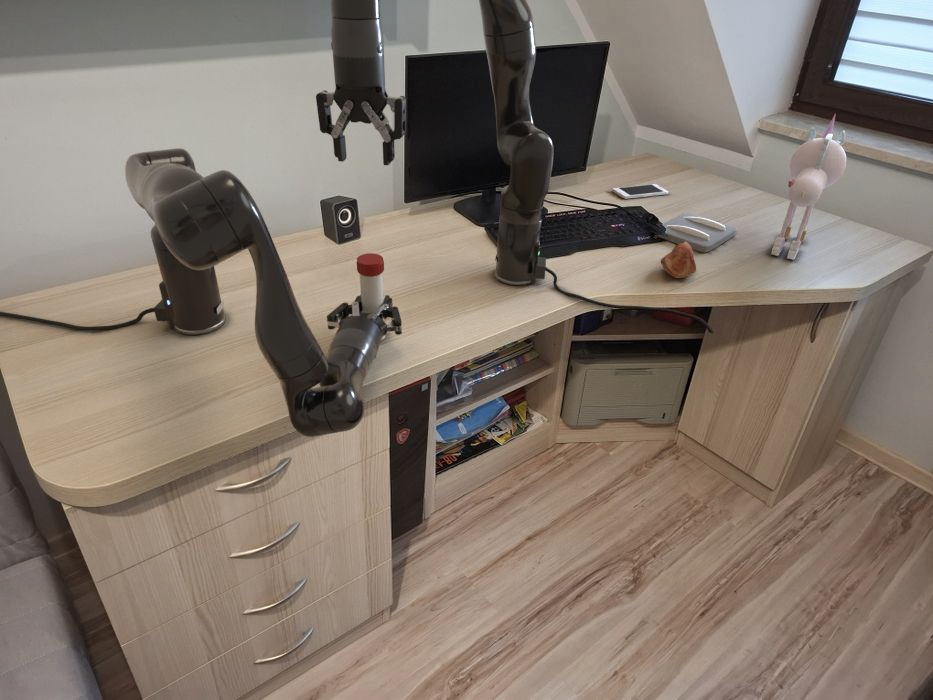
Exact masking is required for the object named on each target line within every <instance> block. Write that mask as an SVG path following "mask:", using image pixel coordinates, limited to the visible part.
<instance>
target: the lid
mask: <svg viewBox="0 0 933 700" xmlns="http://www.w3.org/2000/svg"><path fill="white" fill-rule="evenodd" d="M356 271H357V273H358V274H359V275H360V274H361V275H363V276H377V275H380V274H381V273H382V274H383V273H384V271H385V260H384V257H383V256H382V255H381V254H379V253H374V252H372V253H371V252H370V253H363V254H360V255H358V257H357V258H356Z"/></svg>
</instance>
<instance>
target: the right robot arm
mask: <svg viewBox="0 0 933 700" xmlns="http://www.w3.org/2000/svg"><path fill="white" fill-rule="evenodd" d="M329 1H330V13H331V15H330V16H331V30H330V31H331V33H330V36H331V43H330V47H331V50H332V63H333V71H334V72H333V75H334V86H335V89H334V92H331V91H328V90H321V91H319V92H318V93H317V94H315V102H316V110H317V116H318V125H319V130H320V132H321V133H322V134H327V135H329V136H331V137H332V142H333V154H334V157H335V158H337V161H338V162H345V161H346V160H347V145H346V135H344V132H345V130H346V129H347V126H348V125H349V123H363V124H369V125H371V124H372V125H373V127H374V129H375V131H377V132H378V133H379V135H380V136H381V138H382V139H383V141H382V162H383V163H382V164H383V166H390V165H391V163H392V162H393V161H394V160H395V156H396V155H395V153H396V152H395V141H397V140H401V139H402V138H403V137H404V136H405V135H406V132H407V98H406V96H404V95H400V96H399V97H396V96H389V95H388V93H387V91H386V90H387V89H386V73H385V71H386V69H385V48H384V47H385V46H384V45H385V43H384V32H383V25H382V24H383V23H382V17H381V0H329ZM478 3H479V9H480V16H481V23H482V24H481V25H482V33H483V40H484V45H485V52H486V58H487V63H488V70H489V77H490V82H491V88H492V93H493V99H494V107H495V125H496V127H495V128H496V145H497V152H498V154H499V157H500V158H501V159H500V160H501V161H503V163H504V164H505V165H507V166H508V167H509V168H510V172H509V182H508V185H506V186H504V187H503V188H502V189H501V191H500V198H499V211H498V228H497V244H496V255H495V258H494V262H495V270H494V277H495V278H496V280H498V281H499V282H502V283H503V284H508V285H510V286H525V285H530V284H537V280H545V279H546V278H545V277H546V272H547V273H549V275H551V276H552V277H553V282H552V284H553V287H554V288H555V290H556V291H557V292H559V293H560V294H563V295H565V296H567V297H570V298H574V299H575V298H576V299H578V300H581V301H584V302H587V303H590V304H593V305H596V306H600V307H604V308H611V309H618V310H641V311H651V312H662V313H670V314H673V315H678V316H681V317H685V318H689V319H692V320H694V321H697V322H699V323H700V324H702V326H703V327H705V328H706V330H707V331H708V332H709V333H710V334H714V331H713V329H712V327H711V325H709V323H707V322H706V321H705V319H703V318H702V317H699V316H696V315H694V314H691V313H686V312H682V311H680V310H675V309H671V308H665V307H656V306H655V307H654V306H643V305H624V304H623V305H621V304H611V303H606V302H601V301H598V300H594V299H591V298H587V297H585V296H582V295H580V294H576V293H571V292H568V291H565V290H563V289H561V288H560V287H559V285H558V284H557V283H558V276H557V274H556V273H555V271H553V270H551V269H550V268H548V267H547V257H544V256H540V246H541V244H540V243H541V231H542V222H543V221H542V220H543V213H544V212H543V211H544V201H545V198H546V197H547V195H548V192H549V189H550V184H551V178H552V171H553V166H554V165H553V164H554V156H555V155H554V152H555V151H554V150H555V149H554V144H553V140H552V139H551V137H550V135H548V134H547V133H546V132H544V131H543V130H541V129H539V128H538V127H536V126H535V124H534V119H533V115H532V108H531V102H530V85H531V80H532V77H533V74H534V68H535V64H536V57H537V44H536V43H537V42H536V35H535V34H536V33H535V26H534V25H535V24H534V18H533V13H532V10H531V8H530V5H529V3H528V1H527V0H478ZM334 102H335V104H336V105H337V107H338V108H339V109H340V113H339V115H338V117H337V119H336V121H335V124H333V117H332V109H331V106H333V104H334ZM387 106H389V108H390V111H391V112H392V113H393V115H394V118H393V124H394V125H393V126H394V127H393V128H392V126H391V125H390V122H389V119H388V117H387V115H386V114H385V112H384V110H385V108H386V107H387Z"/></svg>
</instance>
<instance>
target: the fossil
mask: <svg viewBox="0 0 933 700" xmlns="http://www.w3.org/2000/svg"><path fill="white" fill-rule="evenodd" d="M660 264H661V265H662V267H663V269H664V270H665V272H667V274H669V275H671V277H673V278H675V279H684V278H687V277H689V276H690V275H693V274H695V272H697V264H696V260H695V257H694V252H693V249H692V248H691V246H690V245H689V243H688V242H687V241H685V242H684V243H681V244H676V245H675V246H674V247H673V248H672V250H671V251H670V252H668V253H667V254H666V255H664V256H663V257H662V258H661V259H660Z"/></svg>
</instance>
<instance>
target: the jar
mask: <svg viewBox="0 0 933 700" xmlns="http://www.w3.org/2000/svg"><path fill="white" fill-rule="evenodd" d="M383 281H384V280H383V273H381V274H380V275H377V276H363V275H361V274H359V286H360V295H361V303H362V312H364V313H372V312H373V311H374V310H375V309H376V308H380V307H381V306H382V303H383V301H384V282H383ZM385 338H386V335H384V336H383V337H382V339H381V341H383V340H384V339H385Z"/></svg>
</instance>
